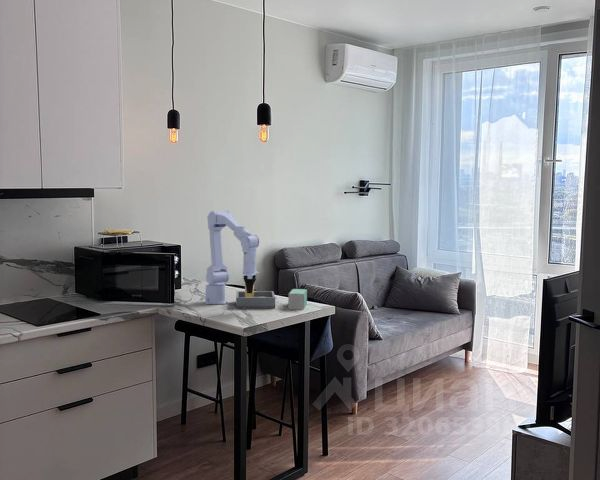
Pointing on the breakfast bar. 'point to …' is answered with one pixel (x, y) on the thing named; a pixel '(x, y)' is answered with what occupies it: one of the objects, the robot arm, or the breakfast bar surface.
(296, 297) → the box
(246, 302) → the crate
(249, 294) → the peg
